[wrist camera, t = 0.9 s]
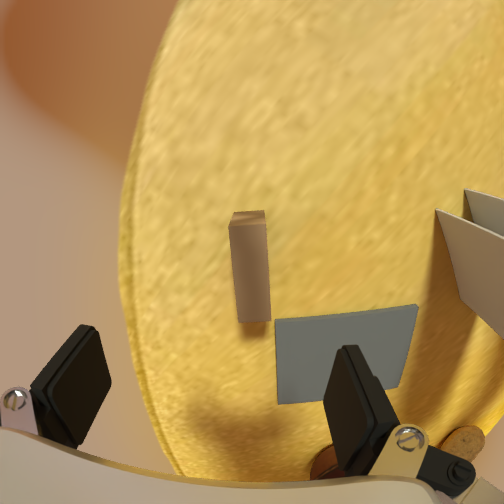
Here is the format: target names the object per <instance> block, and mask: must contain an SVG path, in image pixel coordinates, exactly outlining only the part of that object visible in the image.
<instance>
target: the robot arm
mask: <svg viewBox="0 0 504 504" xmlns="http://www.w3.org/2000/svg"><path fill="white" fill-rule="evenodd" d="M30 387H31V389H30V391H28V390H27V389H25V388H23V387H13V388H11V389H8V390H7V391H5V393H4V394H3V395H2V397H1V399H0V504H504V493H503V492H502V491H500V490H499V489H497V488H496V487H495V486H493V485H492V484H490V483H489V482H488V481H486V480H485V479H483V478H482V477H480V478H479V479H478V478H476V477H475V476H476V472H475V468H474V467H473V465H472V464H471V463H470V462H469V461H467V460H465V459H463V458H460V457H458V456H455V455H452V454H450V453H447V452H445V451H442V450H440V449H437V448H435V447H432V446H430V445H428V444H429V438H428V435H427V433H426V432H425V430H423V429H422V428H421V427H419V426H417V425H415V424H401V425H400V422H399V420H398V418H397V416H396V414H395V412H394V410H393V407H392V405H391V403H390V401H389V399H388V397H387V395H386V393H385V391H384V389H383V387H382V385H381V383H380V381H379V379H378V377H376V376H373V374H372V372H371V370H370V368H369V366H368V364H367V362H366V360H365V357H364V355H363V353H362V351H361V350H360V348H359V346H358V345H343V346H342V348H341V349H338V350H337V352H336V356H335V360H334V363H333V367H332V370H331V374H330V377H329V381H328V384H327V387H326V391H325V394H324V398H323V405H324V409H325V413H326V417H327V421H328V425H329V429H330V433H331V437H332V441H333V445H334V450H335V454H336V458H337V462H338V467H339V469H340V471H344V474H345V477H344V478H335V479H325V480H312V481H293V482H240V481H224V480H212V479H202V478H194V477H186V476H179V475H173V474H167V473H162V472H156V471H151V470H146V469H142V468H138V467H133V466H129V465H125V464H121V463H117V462H114V461H110V460H106V459H103V458H100V457H97V456H94V455H90V454H88V453H85V452H81V451H79V450H76V449H77V447H78V445H81V444H82V443H83V441H84V439H85V437H86V435H87V433H88V431H89V429H90V427H91V425H92V423H93V421H94V419H95V417H96V415H97V412H98V411H99V409H100V407H101V405H102V403H103V401H104V399H105V397H106V395H107V393H108V391H109V389H110V387H111V377H110V373H109V370H108V366H107V363H106V359H105V355H104V351H103V348H102V344H101V340H100V335H99V332H98V331H96V329H95V328H94V327H93V326H88V325H83V324H82V325H79V327H78V328H77V329H76V330H75V331H74V332H73V333H72V335H71V336H70V337H69V338H68V339H67V340H66V342H65V343H64V344H63V345H62V346H61V348H60V349H59V350H58V351H57V352H56V354H55V355H54V356H53V357H52V358H51V360H50V361H49V362H48V363H47V365H46V366H45V367H44V368H43V370H42V371H41V372H40V374H39V375H38V376H37V377H36V378H35V380H34V381H33V382H32V384H31V385H30ZM352 476H355V477H352Z"/></svg>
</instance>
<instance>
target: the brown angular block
mask: <svg viewBox="0 0 504 504" xmlns="http://www.w3.org/2000/svg"><path fill="white" fill-rule="evenodd" d="M228 228H229V238H230V248H231V258H232V267H233V277H234V286H235V295H236V305H237V314H238V322H239V323H244V322H263V321H271V304H270V285H269V267H268V250H267V234H266V221H265V213H264V210H260V211H245V212H234V213H233V216H232V219H231V221H230V224H229V226H228Z"/></svg>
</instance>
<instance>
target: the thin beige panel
mask: <svg viewBox="0 0 504 504" xmlns="http://www.w3.org/2000/svg"><path fill="white" fill-rule="evenodd" d="M464 190H465V194H466V197H467V200H468V203H469V207H470V210H471V214H472V218H473V221H474V223H472V222H470V221H467V220H465V219H463V218H460V217H458V216H455V215H453V214H450V213H448V212H445V211H443V210H440V209H438V208H436V209H435V210H436V213H437V216H438V219H439V222H440V225H441V228H442V231H443V234H444V237H445V241H446V244H447V247H448V251H449V254H450V258H451V262H452V266H453V270H454V274H455V278H456V282H457V286H458V291H459V296H460V300H462V301H463V302H464V303H465V304H466V305H467V306H468V307H470V308H471V309H472V310H473V311H474V312H475V313H476V314H477V315H478V316H479V317H481V318H482V319H483V320H484V321H485V322H486V323H487V324H488V325H489V326H490V327H491V328H492V329H493V330H494V331H495V332H496V333H497V334H498V335H499V336H501V337H502V338H503V339H504V199H502V198H499V197H496V196H492V195H489V194H485V193H482V192H478V191H475V190H471V189H467V188H465V189H464Z"/></svg>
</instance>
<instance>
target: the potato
mask: <svg viewBox="0 0 504 504" xmlns="http://www.w3.org/2000/svg"><path fill="white" fill-rule="evenodd" d="M484 444H485V436H484V434H483V432H482V430H481V429H480V428H478V427H476V426H466V427H461V428H459V429H457V430H456V431H454V432H453V433H452V434H451V435H450V436H449V437H448V438H447V439H446V441H445V442H444V443H443V445H442V446H441V448H440V450H442V451H445V452H447V453H450V454H452V455H455V456H458V457H460V458H463V459H465V460H467V461H469V462H470V463H471V462H472V461H473V460H474V459H475V457H476V456H477V455H478V453H479V452H480V451H481V450H482V448H483V447H484Z"/></svg>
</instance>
